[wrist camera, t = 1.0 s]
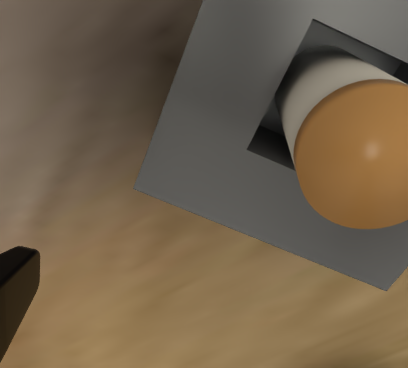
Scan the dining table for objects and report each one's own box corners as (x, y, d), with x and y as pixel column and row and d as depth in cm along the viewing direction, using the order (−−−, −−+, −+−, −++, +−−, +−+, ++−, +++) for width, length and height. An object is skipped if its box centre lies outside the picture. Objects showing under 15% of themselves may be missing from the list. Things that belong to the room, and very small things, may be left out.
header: (516, 13, 16) (621, 21, 12) (356, 229, 21) (386, 291, 17) (257, -117, 15) (263, -165, 10) (157, 145, 20) (133, 188, 16)
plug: (384, 68, 16) (497, 127, 9) (335, 147, 18) (396, 249, 11) (302, 29, 16) (350, 59, 9) (260, 113, 18) (271, 196, 11)
